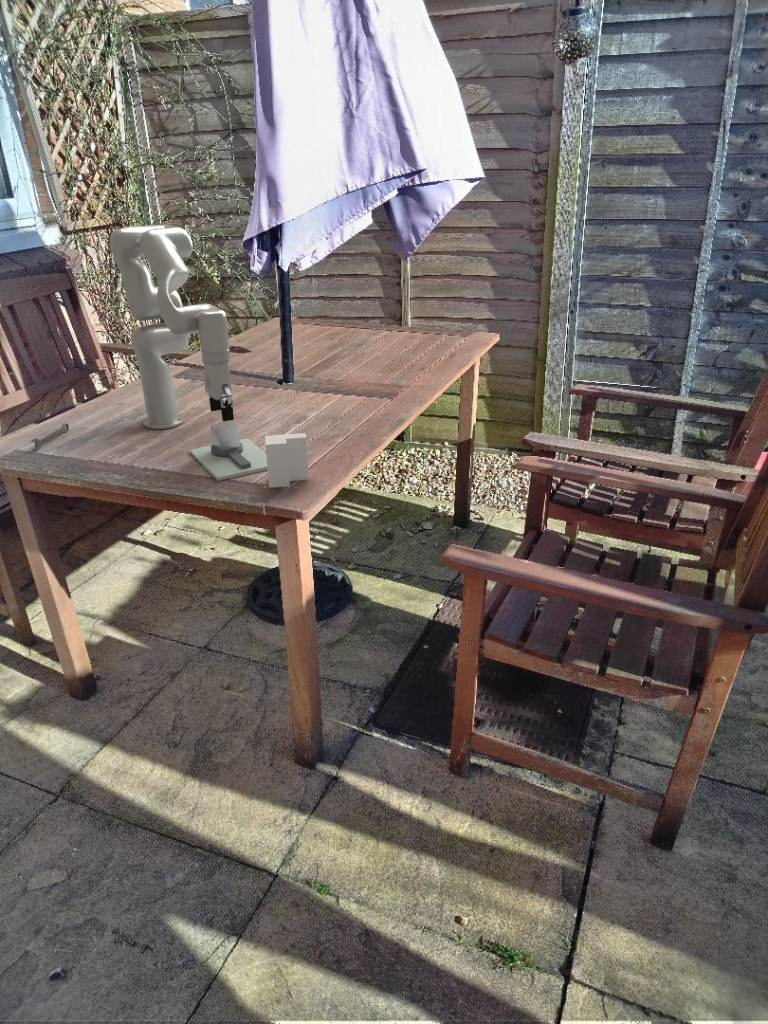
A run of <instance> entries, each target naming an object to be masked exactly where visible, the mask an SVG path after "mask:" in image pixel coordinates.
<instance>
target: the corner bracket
mask: <svg viewBox="0 0 768 1024" xmlns="http://www.w3.org/2000/svg"><path fill="white" fill-rule="evenodd" d="M307 442H308V441H307V434H306V432H303V433H302V432H301V433H286V434H273V435H265V436H264V444H265V453H266V457H267V468H268V470H267V477H268V488H282V487H283V488H285V487H290V486H291V485H290V482H291V481H292V482H294V481H295V482H296V481H306V480H310V475H309V473H310V472H309V460H308V458H309V457H308V443H307Z"/></svg>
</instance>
